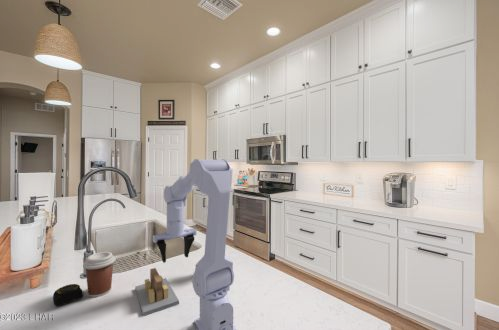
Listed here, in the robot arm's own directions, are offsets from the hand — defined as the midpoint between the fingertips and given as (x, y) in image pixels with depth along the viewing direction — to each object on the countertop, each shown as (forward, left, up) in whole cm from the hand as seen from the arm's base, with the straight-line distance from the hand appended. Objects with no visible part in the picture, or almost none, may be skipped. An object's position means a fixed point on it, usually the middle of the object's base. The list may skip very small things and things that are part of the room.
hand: (175, 258), depth 80 cm
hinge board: (-3, +7, -9) cm, 12 cm away
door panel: (-3, +7, -8) cm, 11 cm away
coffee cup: (+10, +22, -10) cm, 26 cm away
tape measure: (+9, +30, -10) cm, 33 cm away
